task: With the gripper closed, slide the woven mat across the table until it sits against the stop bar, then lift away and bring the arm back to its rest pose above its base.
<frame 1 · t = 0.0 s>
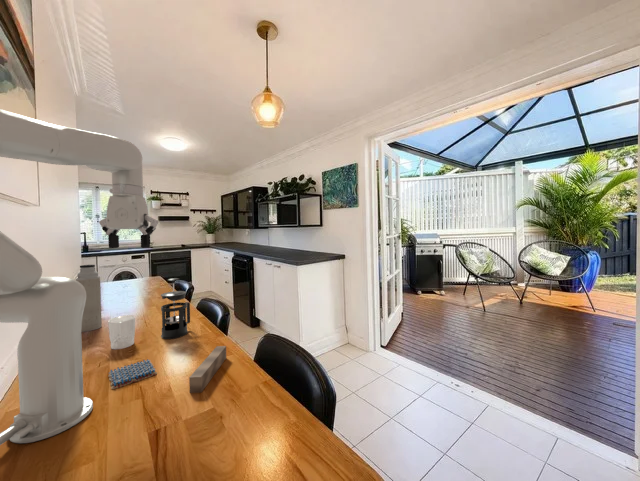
hand: (129, 247, 78), 37 cm above the table, tool pointing down, fingers open, 9 cm apart
french press: (176, 334, 103), on the table
thermos bottle: (89, 328, 111), on the table
white cup: (122, 346, 93), on the table
woven mat: (132, 377, 73), on the table
stop bar: (210, 373, 74), on the table
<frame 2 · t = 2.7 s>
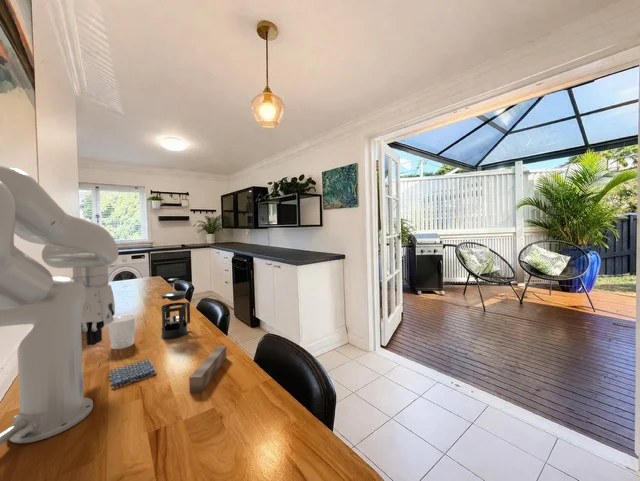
hand: (94, 342, 74), 9 cm above the table, tool pointing down, fingers closed
nothing on the table moved.
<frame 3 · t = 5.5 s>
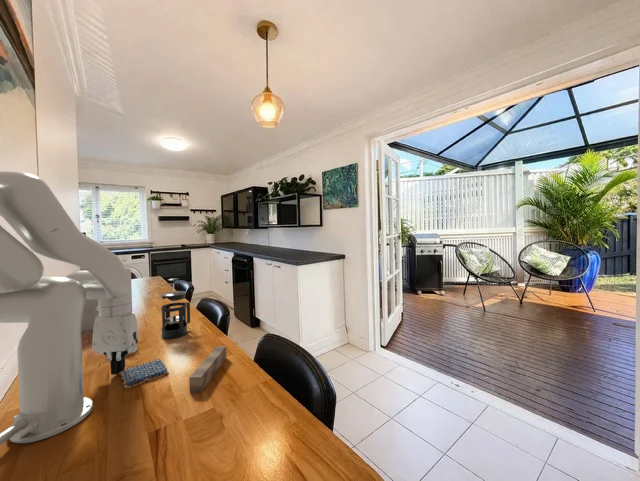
hand: (118, 372, 73), 1 cm above the table, tool pointing down, fingers closed
woven mat: (144, 376, 74), on the table, touching gripper
everything else where it was.
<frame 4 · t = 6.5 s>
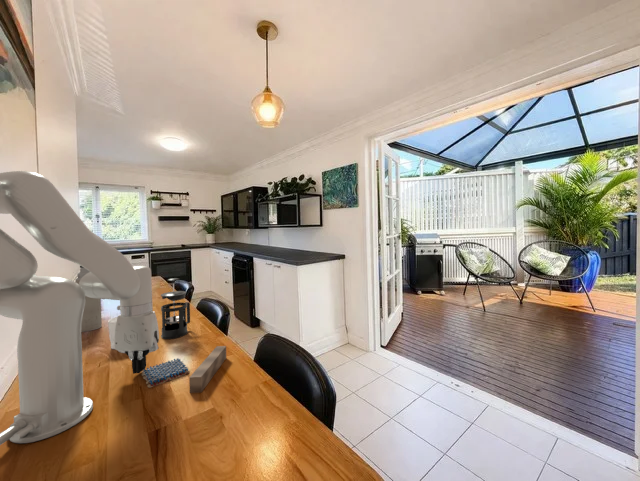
hand: (139, 370, 74), 1 cm above the table, tool pointing down, fingers closed
woven mat: (165, 375, 74), on the table, touching gripper
everything else where it was.
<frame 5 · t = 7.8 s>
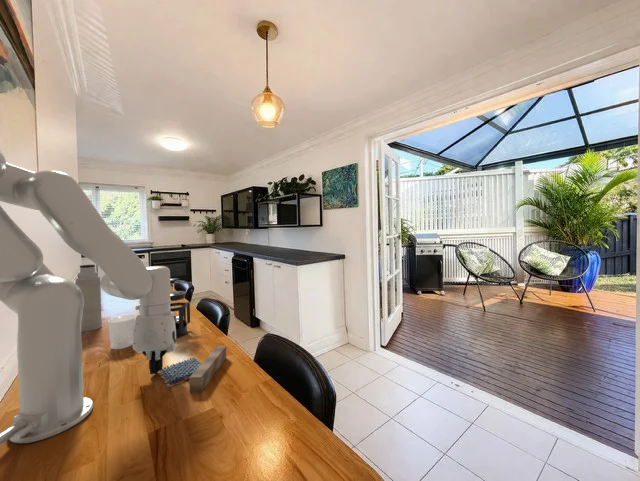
hand: (156, 371, 73), 1 cm above the table, tool pointing down, fingers closed
woven mat: (183, 375, 74), on the table, touching gripper, stop bar
everything else where it was.
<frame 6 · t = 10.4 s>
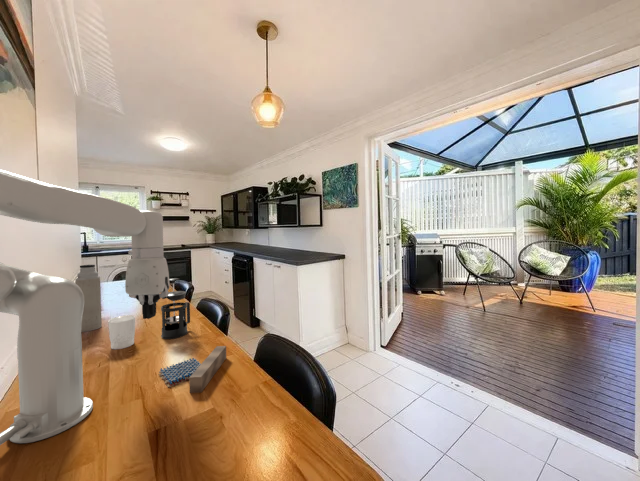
hand: (149, 317, 73), 17 cm above the table, tool pointing down, fingers closed
woven mat: (182, 375, 74), on the table
everything else where it was.
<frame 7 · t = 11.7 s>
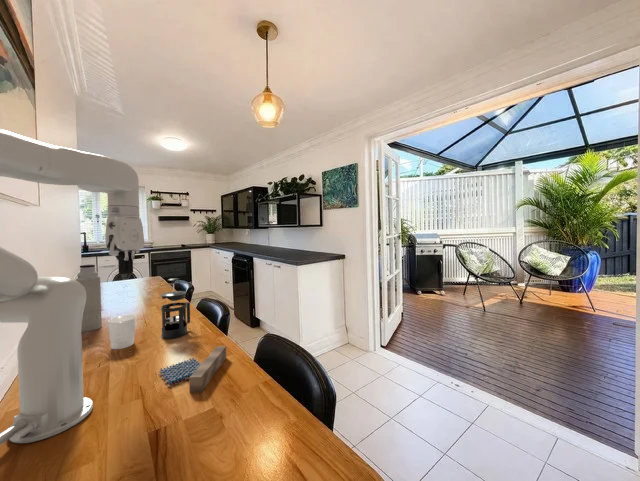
hand: (126, 273, 77), 29 cm above the table, tool pointing down, fingers closed
nothing on the table moved.
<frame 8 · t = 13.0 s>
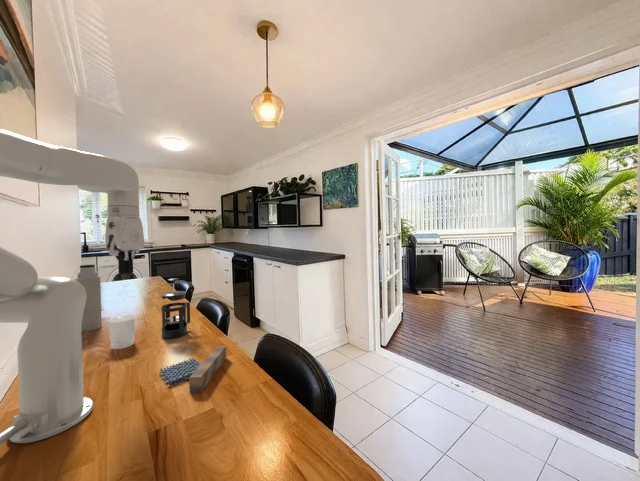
hand: (126, 273, 77), 29 cm above the table, tool pointing down, fingers closed
nothing on the table moved.
at the end: woven mat inside the target area (1.1 cm from its centre), on the table; woven mat moved 14.4 cm from its start; woven mat 8.1 cm from the stop bar (horizontally) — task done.
